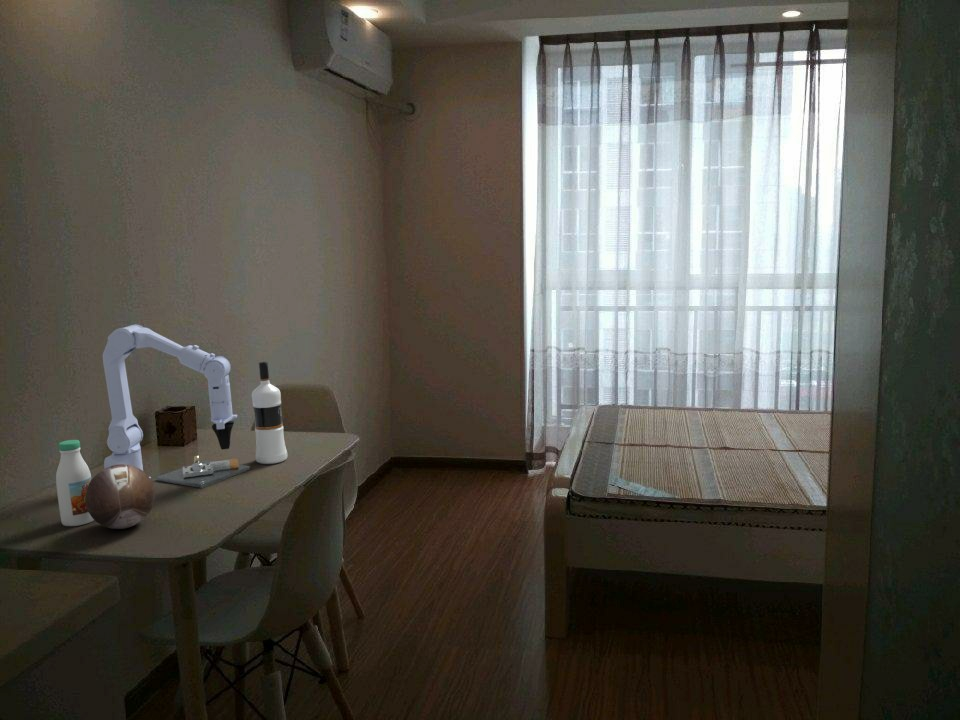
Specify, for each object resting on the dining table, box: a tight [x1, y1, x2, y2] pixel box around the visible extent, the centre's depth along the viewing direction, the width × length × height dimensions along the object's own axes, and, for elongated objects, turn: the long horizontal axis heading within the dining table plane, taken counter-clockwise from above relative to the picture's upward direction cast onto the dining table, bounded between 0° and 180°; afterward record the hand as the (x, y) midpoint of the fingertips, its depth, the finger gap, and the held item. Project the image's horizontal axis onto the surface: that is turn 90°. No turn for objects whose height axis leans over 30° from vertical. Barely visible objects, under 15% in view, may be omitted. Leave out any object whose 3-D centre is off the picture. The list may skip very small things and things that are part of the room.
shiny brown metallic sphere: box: [85, 464, 156, 530], centre depth 192 cm, size 15×15×15 cm
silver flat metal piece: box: [182, 457, 240, 478], centre depth 233 cm, size 15×8×2 cm, turn 111°
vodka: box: [251, 361, 289, 465], centre depth 242 cm, size 9×9×30 cm
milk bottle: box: [55, 439, 95, 527], centre depth 197 cm, size 8×8×20 cm
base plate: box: [155, 455, 251, 489], centre depth 233 cm, size 18×18×4 cm
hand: (225, 448), depth 228 cm, fingers closed
